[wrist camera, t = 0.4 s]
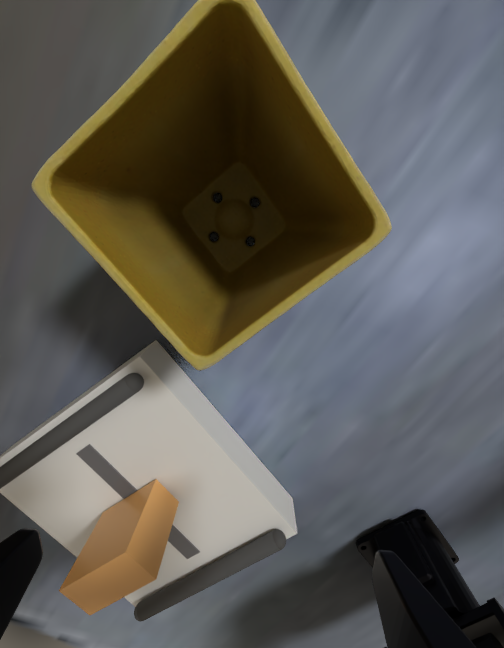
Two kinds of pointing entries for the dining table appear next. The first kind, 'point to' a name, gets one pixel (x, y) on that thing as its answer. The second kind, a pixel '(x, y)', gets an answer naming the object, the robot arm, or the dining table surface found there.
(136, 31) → the dining table surface
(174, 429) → the box
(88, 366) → the dining table surface
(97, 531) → the handle
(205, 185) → the flower pot
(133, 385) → the pair of mounting rails
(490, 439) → the dining table surface
